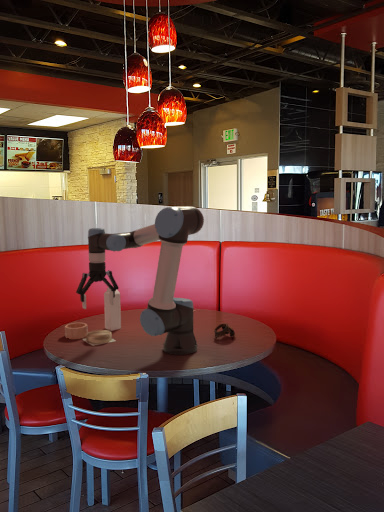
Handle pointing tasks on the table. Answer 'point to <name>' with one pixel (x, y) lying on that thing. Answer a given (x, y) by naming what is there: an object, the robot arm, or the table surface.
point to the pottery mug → (224, 330)
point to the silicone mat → (97, 344)
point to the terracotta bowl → (76, 330)
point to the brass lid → (99, 336)
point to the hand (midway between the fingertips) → (98, 306)
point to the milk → (112, 311)
